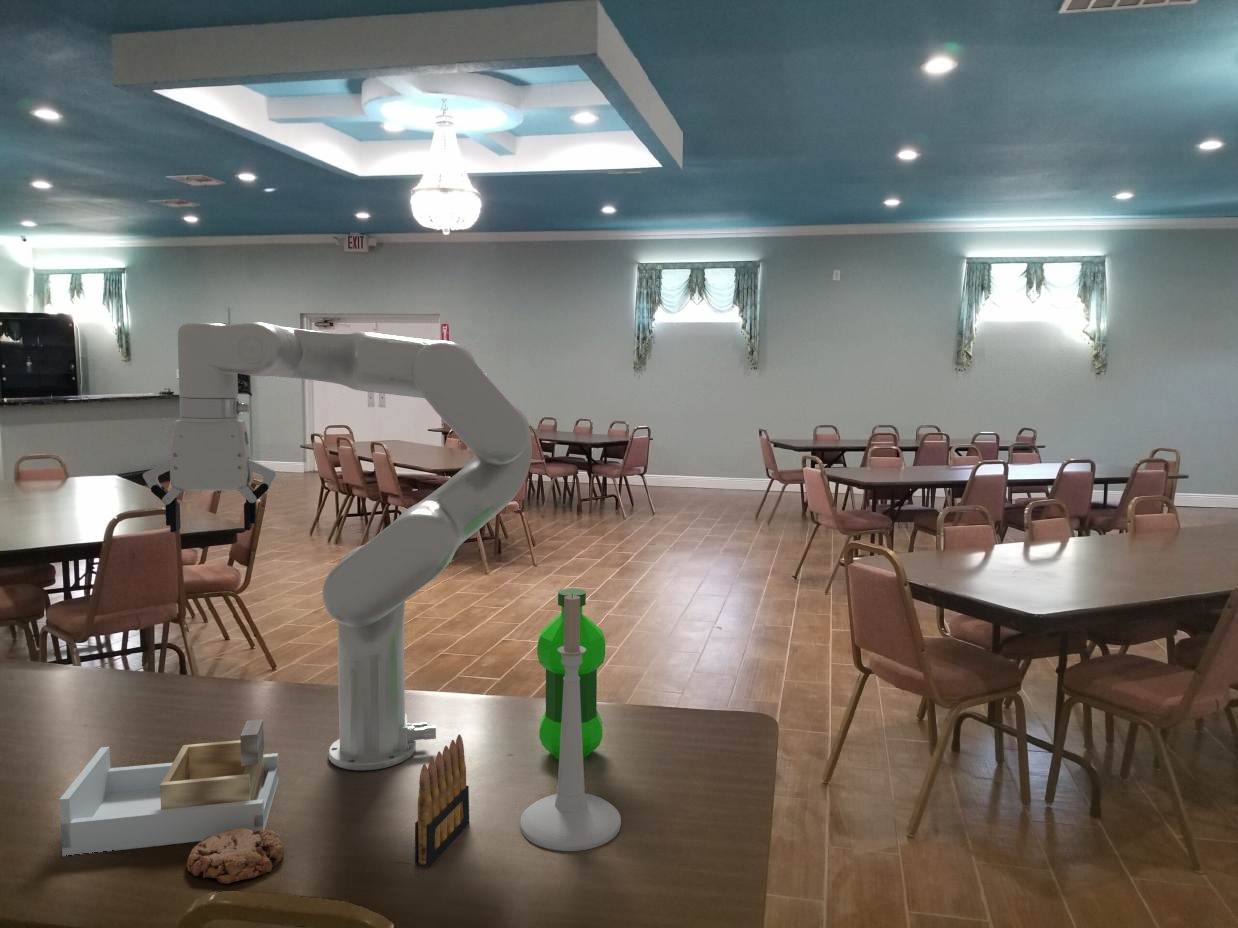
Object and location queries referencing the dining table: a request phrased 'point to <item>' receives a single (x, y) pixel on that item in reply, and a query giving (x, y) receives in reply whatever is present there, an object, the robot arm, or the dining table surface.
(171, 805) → the drawer
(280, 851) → the cookie
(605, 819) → the candlestick
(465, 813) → the ammunition clip
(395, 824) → the dining table surface
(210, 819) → the bay
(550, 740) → the plastic bottle
